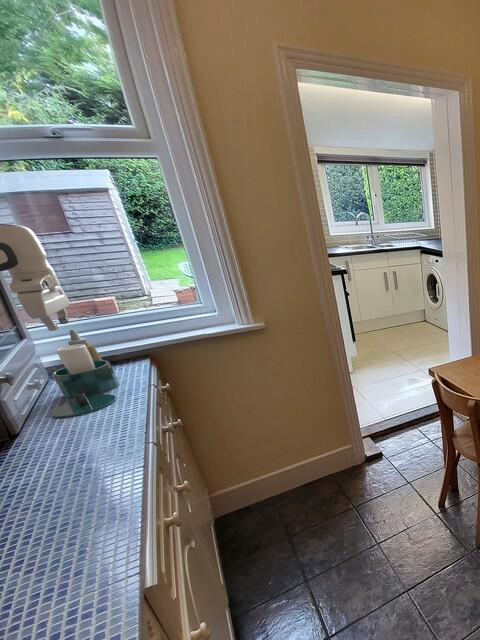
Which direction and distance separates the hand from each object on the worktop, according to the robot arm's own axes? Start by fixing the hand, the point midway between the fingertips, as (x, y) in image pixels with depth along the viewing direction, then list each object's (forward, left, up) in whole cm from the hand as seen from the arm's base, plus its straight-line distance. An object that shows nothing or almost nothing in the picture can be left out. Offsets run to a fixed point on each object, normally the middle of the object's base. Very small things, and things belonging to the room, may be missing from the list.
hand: (59, 326), depth 127 cm
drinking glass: (0, 0, -22) cm, 22 cm away
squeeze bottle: (-3, +16, -23) cm, 28 cm away
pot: (0, 0, -22) cm, 22 cm away
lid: (+2, -16, -22) cm, 27 cm away
